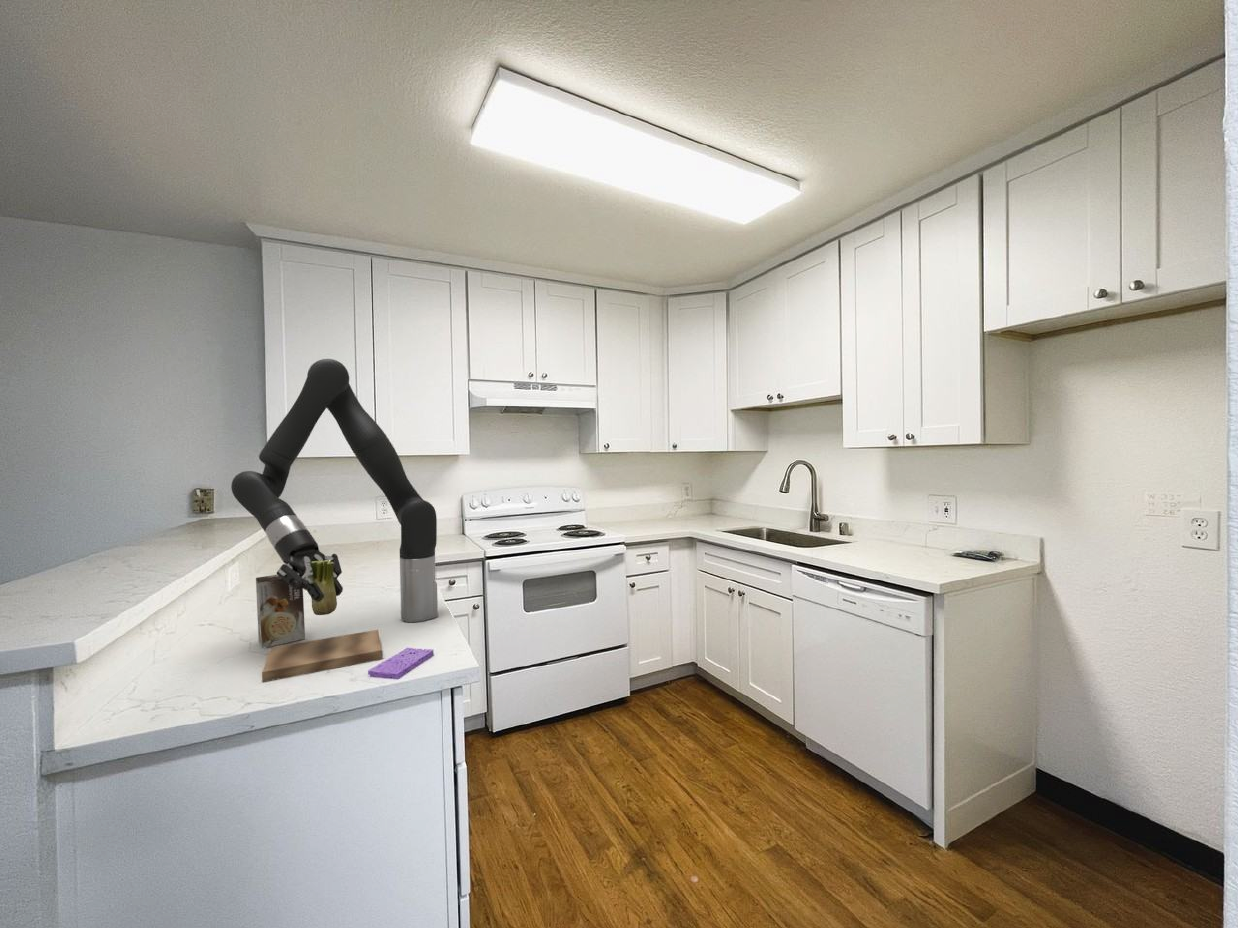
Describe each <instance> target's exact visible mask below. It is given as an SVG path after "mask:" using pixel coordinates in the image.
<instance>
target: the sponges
mask: <svg viewBox="0 0 1238 928" xmlns="http://www.w3.org/2000/svg"><path fill="white" fill-rule="evenodd" d="M433 657H434V649H432V648H431V649H429V648H424V649H422V648H414V647H406V648H404V649H403V650H401V651H400V652H398V653H396V654H395V655H393V656H391V657H389V658H387V659H386V660H384V661H382V662H381V663H378V664H377V665H375V666H373V667H371V668H369V669H368V670H367V675H369V677H370V678H378V679H379V678H381V679H389V680H392V679H393V680H398V679H400V678H402V677H404V675H406V674H407V673H409V672H411V671H412V670H414V669H415V668H416V667H418V666H420V665H421V664H422V663H425V662H426V661H427V660H429V659H430V658H433Z"/></svg>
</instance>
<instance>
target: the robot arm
mask: <svg viewBox="0 0 1238 928" xmlns="http://www.w3.org/2000/svg"><path fill="white" fill-rule="evenodd" d="M306 375H307V376H306V378H305V381H304V384H303V386H302V388H301V391H300V393H299V395H298V397H297V398H296V400H295V402H294V403H293V404H292V406H291V408H290V410H288V413H286V414H285V417H283V419H282V421H281V422H280V423H279V425H278V426H277V427H276V429H275V430H274V431H273V433H272V434H271V436H270V437H269V439H268V440H267V441H266V443H265V445H264V447H262V449H261V451H260V453H259V455H258V459H259V461H260V462H261V463H262V464H264V468H263V471H262V473H260V472H257V471H255V470H254V471H253V470H246V471H242V472H240V473H238V474H236V475H235V477H233V479H232V482H231V493H232V495H233V496H234V498H235V499H236V501H237V502H238V503H239V504H240V505H241V506H242V507H243V508H244V509H245V510H246V511H247V512H248V513H250V515H252V516H253V517H254V518H255V519H256V520H257V522H258V524H259V525H260V527H261V528H262V530H263V532H264V533H265V534H266V537H267V538H268V541H269V542H270V544H271V545H272V547H273V549H274V550H275V552H276V553H277V555H278V556H279V558H280V559H281V560H282V562H283V564H282V565H281V566H280V567H279V568H278V569H277V572H276V575H278V576H280V577H281V578H282V579H283V580H284V581H286V582H287V583H288V584H289V585H290V586H292V587H293V588H294V589H295V590H299V589H300V588H301V589H303V591H307V593H308V595H309V596H310V598H312V599H313V600H315V601H316V602H319V601H321V600H322V598H323V597H324V594H323V592H322V591H321V590H320V588H319V587H318V585H317V584H316V583H314V579H313V576H312V574H313V570H312V567H311V562H313V561H317V562H318V561H323V565H324V561H325V560H328V561H329V562H333V563H334V571H333V575H334V587H335V591H336V597H339V596H340V595H342V593H343V591H344V588H343V585H342V584H341V583H340V581H339V580H338V578H339V577H340V576H341V574H342V573H343V570H342V566H341V564H340V560H339V557H338V555H337V554H336V553H332V554H331V555H325V554H324V553H323V552H322V551H320V549H319V544H318V542H317V541H316V539H315V538H314V537H313V535H312V533H311V532H310V531H309V529H308V528H307V526H306V525H305V524H304V523H303V521H302V520H301V519H300V518H299V517H298V516H297V514H296V513H295V512H294V510H293V508H292V507H291V505H289V503H288V502H286V501H285V500H283V499H281V498H280V497H281V496H282V494H283V492H284V490H285V487H286V484H287V480H288V478H289V475H290V470H291V467H292V465H293V464H294V461H296V459H297V458H298V456H299V454H300V453H301V452H302V450H303V448H304V447H305V445H306V444H307V441H308V439H309V437H310V436H311V434H312V432H313V431H314V428H315V426H316V425H317V424H318V421H319V420H320V418H321V416H322V415H323V413H324V412H325V411H326V409H327V410H328V411H329V412H330V414H331V416H333V419H334V420H335V421H336V423H337V425H338V427H339V429H340V431H341V433H342V435H343V437H344V438H345V440H346V443H347V444H348V446H349V448H350V449H351V450H352V453H353V454H354V456H355V458H356V459H357V460H358V462H359V463H360V465H361V467H362V468H363V469H364V470H365V472H366V474H368V475H369V477H370V478H371V479H372V480H373V482H374V483H375V484H376V485H377V487H378V488H379V489H380V490H381V492H382V493H383V495H385V497H386V499H387V501H388V503H389V505H390V507H391V508H392V511H393V513H394V515H395V517H396V519H397V522H398V523H399V524H400V535H401V536H400V540H401V542H400V547H399V580H400V581H399V583H400V584H399V586H400V587H399V588H400V589H399V590H400V593H399V594H400V620H401V621H402V620H403V622H406V623H407V622H408V623H417V622H424V621H428V620H431V619H433V618H438V617H439V612H438V611H439V608H438V603H439V601H438V599H439V598H438V583H437V578H436V574H437V573H436V546H437V543H438V542H437V540H438V537H437V534H438V533H437V532H438V527H437V525H438V520H437V519H438V518H437V511H436V509H435V507H434V506H433V504H432V503H430V502H429V501H428V500H425V499H423V498H422V496H421V495H420V494H419V493H418V491H417V490H416V489H415V487H414V486H413V485H412V483H411V481H410V480H409V478H408V477H407V475H406V472H405V468H404V466H403V464H402V461H401V459H400V457H399V455H398V453H397V451H396V449H395V447H394V446H393V444H392V442H391V441H390V439H389V437H388V436H387V435H386V433H385V432H384V430H383V429H382V428H381V427H380V425H379V424H378V423H377V422H376V420H374V418H372V416H371V415H370V414H369V413H368V412H367V411H366V410H365V409H364V407H363V406H362V404H361V403H360V401H359V400H358V398H357V396H356V394H355V393H354V390H353V389H352V387H351V384H350V374H349V371H348V370H347V368H346V366H345V365H344V364H343V363H342V362H340V361H338V360H337V359H332V358H322V359H319V360H316V361H315V362H314V363H312V364H311V365H310V367H309V369H308V371H307V374H306ZM294 580H296V581H297V582H295V581H294ZM312 599H311V600H312Z"/></svg>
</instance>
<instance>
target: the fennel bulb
mask: <svg viewBox="0 0 1238 928" xmlns="http://www.w3.org/2000/svg"><path fill="white" fill-rule="evenodd" d="M311 567H312V570H313V574H312V576H313V579H314V583H316V584H317V585H318V587H319V588H320V590H321V591H322V592H323V594H324V597H323V598H322V600H321V601H319V602H316V601H315V600H313V599H312V598H311V597H310V598H311V609H312V612H313V615H316V616H326V615H330V614H332V613H333V612H335V610H336V609H337V605H338V600H337V599H338V598H337V596H336V591H335V587H334V575H333V571H334V563H333V562H329V561H328V560H325V561H324V565H323V561H318V562H317V561H313V562H311Z"/></svg>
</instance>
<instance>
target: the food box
mask: <svg viewBox="0 0 1238 928" xmlns="http://www.w3.org/2000/svg"><path fill="white" fill-rule="evenodd" d="M294 581H295V582H297V581H296V580H294ZM255 585H256V586H255V587H256V588H255V590H256V591H255V592H256V610H257V611H256V612H257V613H256V616H257V635H258V638H257V639H258V643H259V645H260V648H261V649H266V648H271V647H276V646H280V645H285V644H288V643H291V642H297V641H301V640H304V639H306V625H305V608H304V607H305V606H304V604H305V603H304V589H301V588H300V589H299V590H295V589H294V588H293V587H292V586H290V585H289V584H288V583H287V582H286V581H284V580H283V579H282V578H281V577H280V576H278V575H277V574H273V575H266V576H258V577H256V578H255Z"/></svg>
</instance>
